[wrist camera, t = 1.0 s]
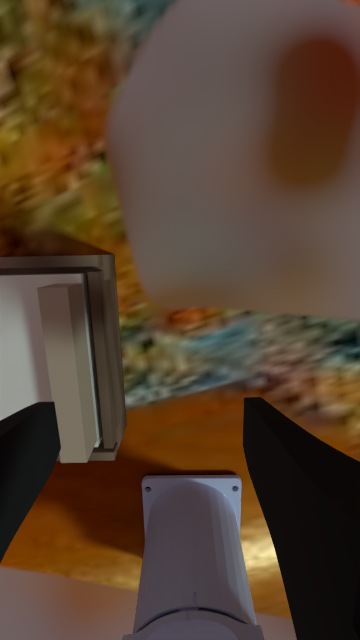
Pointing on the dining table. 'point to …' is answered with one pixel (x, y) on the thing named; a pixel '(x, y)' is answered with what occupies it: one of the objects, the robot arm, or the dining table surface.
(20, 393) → the cover plate
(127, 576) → the dining table surface
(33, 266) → the walnut box
